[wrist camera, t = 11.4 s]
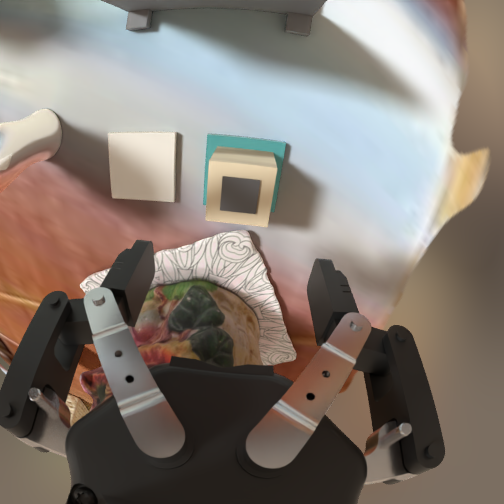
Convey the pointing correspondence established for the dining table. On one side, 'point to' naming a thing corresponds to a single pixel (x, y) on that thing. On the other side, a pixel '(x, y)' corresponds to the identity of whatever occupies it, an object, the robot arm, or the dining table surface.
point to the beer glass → (27, 143)
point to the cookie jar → (204, 310)
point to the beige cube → (240, 186)
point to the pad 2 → (246, 143)
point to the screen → (291, 3)
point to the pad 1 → (142, 165)
